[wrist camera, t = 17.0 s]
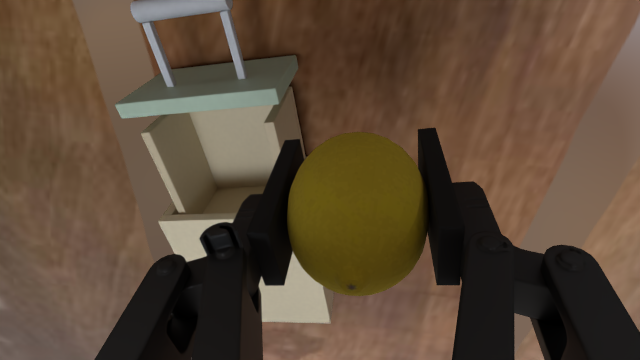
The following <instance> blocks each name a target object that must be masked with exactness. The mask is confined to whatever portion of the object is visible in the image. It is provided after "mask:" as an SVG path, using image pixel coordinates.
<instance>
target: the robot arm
mask: <svg viewBox="0 0 640 360" xmlns="http://www.w3.org/2000/svg"><path fill="white" fill-rule="evenodd" d="M303 162H304V156H303V152H302V147H301V142H300V139H293V140H285V141H284V143H283V146H282V148H281V150H280V153H279V155H278V158H277V160H276V162H275V165H274V167H273V170H272V172H271V174H270V177H269V179H268V182H267V184H266V186H265V189H264V191H263V194H250V195H249V196H248V197H247V198H246V199H245V200H244V201H243V202H242V204H241V206H240V208H239V210H238V212H237V214H236V216H235V219H234V220H233V223H229V222H221V223H217V224H214V225H212V226H210V227H209V228H207V229H206V230H205V231H204V232H203V233H202V234H201V236H200V238H199V239H200V242H201V244H202V246H203V248H204V250H205V252H206V254H207V256H205V257H203V258H199V259H196V260H192V261H188V262H186V260H185V258H184V257H183V256H181V255H178V254H172V255H167V256H165V257H163V258H161V259H159V260H158V261H157V262H155V263H154V264H153V265H152V267H151V268H150V269H149V271H148V273H147V274H146V276H145V277H144V279H143V281H142V282H141V284H140V286H139V287H138V289H137V291H136V292H135V294H134V296H133V297H132V299H131V301H130V302H129V304H128V305H127V307H126V309H125V310H124V312H123V314H122V315H121V317H120V319H119V320H118V322H117V324H116V325H115V327H114V328H113V330H112V332H111V333H110V335H109V337H108V338H107V340H106V342H105V343H104V345H103V347H102V348H101V350H100V352H99V353H98V355H97V356H96V358H95V360H263V344H262V303H261V292H260V288H259V283H260V280H261V277H262V278H263V281H264V284H265V286H284V284H285V280H286V276H287V272H288V268H289V264H290V260H291V256H292V252H293V250H292V247H291V243H290V239H289V235H288V228H287V210H288V199H289V192H290V188H291V186H292V183H293V181H294V178H295V176H296V174H297V172H298V170H299V168H300V166H301V164H302V163H303ZM418 169H419V171H420V173H421V176H422V178H423V180H424V182H425V185H426V189H427V194H428V203H429V226H428V237H429V243H430V249H431V254H432V260H433V266H434V272H435V277H436V283H437V285H460V277H461V280H462V287H461V295H460V302H459V310H458V317H457V325H456V332H455V340H454V348H453V355H452V360H514V313H516V314H520V315H524V316H528V317H530V319H531V321H532V325H533V327H534V330H535V333H536V336H537V339H538V342H539V345H540V348H541V351H542V353H543V356H544V359H545V360H640V332H639V330H638V329H637V327H636V325H635V324H634V322H633V321H632V319H631V317H630V316H629V314H628V312H627V311H626V309H625V307H624V306H623V304H622V302H621V301H620V299H619V297H618V296H617V294H616V292H615V291H614V289H613V287H612V286H611V284H610V282H609V281H608V279H607V277H606V276H605V274H604V272H603V271H602V269H601V267H600V266H599V264H598V262H597V261H596V260H595V259H594V258H593V257H592V256H591V255H590V254H588V253H587V252H585V251H584V250H582V249H579V248H576V247H573V246H567V245H557V246H552V247H550V248H549V249H547V250H546V252H545V254H541V253H536V252H531V251H527V250H523V249H520V248H518V247H515V246H513V245H512V243H511V242H510V240H509V239H508V238H507V237H505V236H503V235H502V234H501V232H500V230H499V227H498V225H497V222H496V220H495V217H494V215H493V213H492V210H491V208H490V205H489V203H488V200H487V198H486V196H485V193H484V191H483V189H482V188H481V187H480V186H479V185H477V184H476V183H475V182H456V183H452V181H451V178H450V174H449V171H448V168H447V165H446V161H445V158H444V155H443V151H442V148H441V145H440V141H439V138H438V135H437V131H436V128H427V129H418ZM191 358H192V359H191Z"/></svg>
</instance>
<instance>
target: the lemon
mask: <svg viewBox="0 0 640 360" xmlns="http://www.w3.org/2000/svg"><path fill="white" fill-rule="evenodd" d="M428 226H429V203H428V194H427V189H426V185H425V182H424V180H423V178H422V176H421V173H420V171H419V169H418V167H417V165H416V164H415V162H414V161H413V160H412V158H411V157H410V156H409V155H408V154H407V153H406V152H405V151H404V150H403V148H401V147H400V146H398V145H397V144H395V143H394V142H392V141H391V140H389V139H388V138H385V137H382V136H379V135H376V134H373V133H364V132H354V133H345V134H341V135H338V136H336V137H333V138H330V139H328V140H327V141H325V142H324V143H322V144H321V145H319V146H318V147H316V148H315V149H314V150H313V151H312V152H311V153H310V155H309V156H308V157H307V158H306V159H305V160H304V162H303V163H302V164H301V166H300V168H299V170H298V172H297V174H296V176H295V178H294V181H293V183H292V186H291V188H290V192H289V199H288V210H287V228H288V235H289V239H290V243H291V247H292V250H293V253H294V255H295V257H296V258H297V260H298V262H299V263H300V265H301V267H302V268H303V269H304V270H305V272H306V273H307V274H308V275H309V276H310V277H312V278H313V279H314V280H315V281H316V282H318V283H319V284H321V285H322V286H324V287H326V288H327V289H329V290H332V291H334V292H337V293H340V294H345V295H352V296H364V295H372V294H375V293H379V292H382V291H385V290H387V289H389V288H390V287H392V286H394V285H396V284H397V283H399V282H400V281H401V280H402V279H403V278H405V277H406V276H407V275H408V274H409V273H410V272H411V270H412V269H413V268H414V266H415V264H416V263H417V261H418V260H419V258H420V256H421V254H422V252H423V248H424V245H425V241H426V236H427V231H428Z"/></svg>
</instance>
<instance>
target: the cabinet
mask: <svg viewBox="0 0 640 360" xmlns="http://www.w3.org/2000/svg"><path fill="white" fill-rule="evenodd" d="M306 158H307V157H306ZM236 214H237V213H215V214H186V215H179V213H178V211H177V209H176V207H175V205H174V202H172V203H171V204H170V206H169V207H168V209H167V210H166V211H165V213H164V214H163V216H162V217H161V218H160V219H159V221H158V223H159V224H160V226H161V228H162V230H163V232H164V234H165V236H166V238H167V240H168V242H169V243H170V245H171V247H172V249H173V251H174V253H175V254H178V255H181V256H183V257H184V258H185V260H186V262H188V261H192V260H196V259H199V258H203V257H205V256H207V254H206V252H205V250H204V248H203V246H202V244H201V242H200V239H199V238H200V236H201V234H202V233H203V232H204V231H205V230H206V229H207V228H209V227H210V226H212V225H214V224H217V223H221V222H229V223H233V220H234V219H235V216H236ZM259 288H260V292H261V303H262V322H300V323H331V315H332V307H333V298H334V291H332V290H329V289H327V288H326V287H324V286H322V285H321V284H319V283H318V282H316V281H315V280H314V279H313V278H312V277H310V276H309V275H308V274H307V273H306V272H305V270H304V269H303V268H302V267H301V265H300V263H299V262H298V260H297V258H296V257H295V255H294V253H293V252H292V256H291V260H290V264H289V268H288V272H287V276H286V280H285V284H284V286H265V284H264V281H263V278H262V277H261V280H260V283H259Z"/></svg>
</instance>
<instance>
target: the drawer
mask: <svg viewBox="0 0 640 360" xmlns="http://www.w3.org/2000/svg"><path fill="white" fill-rule="evenodd" d="M232 6H233V2H232V0H139V1H133V2H132V3H131V13H132V15H133V17H134V19H135V20H136V21H137V22H139V23H142V25H143V27H144V30H145V32H146V35H147V37H148V40H149V43H150V45H151V48H152V50H153V53H154V55H155V58H156V60H157V63H158V65H159V68H160V70H161V73H160V74H158V75H157V76H155V77H154V78H153V79H151V80H150V81H149V82H147V83H145V84H144V85H143V86H141V87H140V88H138V89H137V90H135V91H134V92H132V93H131V94H129V95H128V96H127V97H125V98H124V99H122V100H121V101H119V102H118V103H116V104H115V106H116V108H117V110H118V112H119V114H120V116H121V118H134V117H145V116H155V115H161V116H160V117H158V118H157V119H156V120H155V121H154V122H153V123H152V124H150V126H148V127H147V128H146V129H145V130H144V131H143V132H142V133H141V135H142V137H143V139H144V141H145V143H146V145H147V148H148V150H149V152H150V154H151V156H152V158H153V160H154V162H155V165H156V167H157V169H158V171H159V173H160V175H161V177H162V179H163V181H164V183H165V186H166V187H167V190H168V192H169V194H170V196H171V198H172V200H173V202H174V205H175V207H176V209H177V211H178V213H179V215H186V214H215V213H237V212H238V210H239V208H240V206H241V204H242V202H243V201H244V200H245V199H246V198H247V197H248V196H249V195H250V194H263V191H264V189H265V186H266V184H267V182H268V179H269V177H270V174H271V172H272V170H273V167H274V165H275V162H276V160H277V158H278V155H279V153H280V150H281V148H282V146H283V143H284V141H285V140H293V139H300V142H301V147H302V152H303V156H304V160H305V159H306V156H305V151H304V146H303V141H302V135H301V130H300V125H299V120H298V115H297V110H296V105H295V100H294V95H293V89H292V87H289V85H290V83H291V81H292V79H293V77H294V75H295V73H296V72H297V70H298V64H297V58H296V55H292V56H283V57H275V58H266V59H257V60H249V61H243V57H242V54H241V50H240V46H239V42H238V38H237V35H236V31H235V27H234V23H233V19H232V15H231V12H230V10H231V9H232ZM219 11H221V12H220V15H221V19H222V22H223V26H224V29H225V33H226V37H227V40H228V44H229V47H230V51H231V55H232V58H233V62H232V63H223V64H214V65H206V66H197V67H188V68H180V69H171V68H170V65H169V62H168V60H167V57H166V54H165V52H164V49H163V46H162V44H161V41H160V39H159V36H158V33H157V31H156V28H155V25H154V23H153V21H157V20H163V19H170V18H177V17H184V16H191V15H198V14H205V13H212V12H219ZM143 22H144V23H143Z"/></svg>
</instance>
